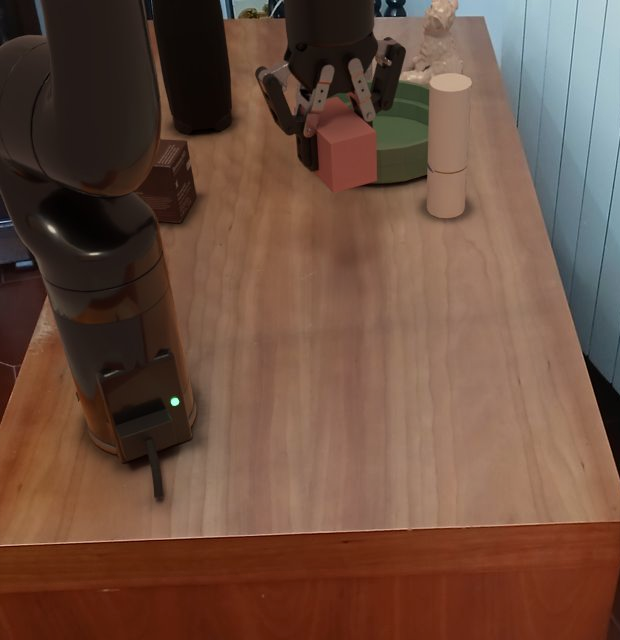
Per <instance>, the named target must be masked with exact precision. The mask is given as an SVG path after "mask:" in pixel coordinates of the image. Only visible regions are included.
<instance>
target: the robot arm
mask: <svg viewBox="0 0 620 640" xmlns="http://www.w3.org/2000/svg"><path fill="white" fill-rule="evenodd" d="M39 4H40V8H41V12H42V13H41V14H42V20H43V26H44V33H45V35H41V34H39V35H38V34H35V35H34V34H27V35H22V36H18V37H15V38H13V39H10V40H8V41H6V42H4V43H3V44H2V45H1V46H0V195H1V198H2V200H3V203H4V206H5V208H6V211H7V213H8V216H9V218H10V221H11V223H12V226H13V228H14V230H15V233H16V234H17V235H18V237H19V238H20V240H21V242H22V243H23V244H24V245H25V246H26V248H27V249H28V250H29V251H30V253H31V254H32V255H33V257H34V258H35V261H36V263H37V266H38V270H39V273H40V277H41V279H42V282H43V285H44V289H45V293H46V296H47V298H48V302H49V307H50V309H51V312H52V315H53V319H54V322H55V325H56V328H57V331H58V335H59V338H60V341H61V344H62V347H63V350H64V354H65V357H66V361H67V364H68V367H69V370H70V373H71V376H72V379H73V384H74V386H75V389H76V391H75V395H76V399H77V402H78V403H79V402H80V404H81V408H82V411H83V414H84V418H85V425H86V428H87V432H88V435H89V437H90V438H91V440H92V441H93V442H94V444H95V445H97V446H98V447H99V448H100V449H102V450H104V451H105V452H107V453H110V454H114V455H116V456H117V457H118V458H119V460H120V462H121V463H124V464H125V463H128V462H130V461H134V460H136V459H140V458H143V457H145V456H147V457H148V461H149V466H150V470H151V471H150V472H151V477H152V486H153V496H154V497H153V498H154V499H162V498H163V497H164V489H163V485H164V484H163V476H162V470H161V466H160V460H159V456H158V452H160V451H162V450H165V449H168V448H170V447H173V446H176V445H178V444H182V443H184V442H187V441H189V440H192V438H193V434H192V429H191V428H192V426H193V425H194V423H195V421H196V417H197V404H196V398H195V395H194V392H193V389H192V385H191V379H190V374H189V370H188V365H187V360H186V355H185V350H184V345H183V339H182V336H181V335H182V334H181V331H180V325H179V324H180V323H179V320H178V319H179V318H178V315H177V310H176V309H177V308H176V305H175V299H174V295H173V290H172V289H173V288H172V284H171V280H170V272H169V268H168V263H167V258H166V253H165V248H164V242H163V237H162V232H161V228H160V224H159V221H158V220H157V218H156V215H155V213H154V212H153V210H152V209H151V207H150V206H149V205H148V204H147V203H146V202H145V201H144V200H143V199H142V198H141V197H139V196H138V195H137V194H136V193H135V192H134V191H135V190H136V189H137V188H138V187H139V186H140V185H141V184H142V183H143V182H144V180H145V179H146V177H147V176H148V174H149V172H150V171H151V169H152V167H153V164H154V161H155V159H156V156H157V152H158V148H159V143H160V139H161V134H162V120H163V119H162V101H161V92H160V84H159V79H158V73H157V72H158V71H157V67H156V62H155V55H154V54H155V53H154V49H153V43H152V38H151V33H150V26H149V22H148V21H149V20H148V16H147V10H146V5H145V0H39ZM283 8H284V9H283V10H284V21H285V34H286V39H287V44H286V45H287V46H286V49H285V52H284V54H283V60H282V61H280V62H278V63H276V64H274V65H273V66H271V67H269V68H267V67H266V66H263V65H261V66H259V67H257V68H256V70H255V71H254V76H255V78H256V81H257V84H258V85H259V88H260V90H261V93H262V95H263V98H264V100H265V102H266V106H267V108H268V110H269V112H270V114H271V118H272V119H273V122H274V123H275V125H276V126H278V128H279V129H281V131H282V132H283V133H284V134H285V135H286V136H289V137H290V136H291V137H292V136H294V135H295V143H296V156H297V159H298V160H299V162H300V163H301V164H302V165H303V166H304V168H307V169H308V171H310V172H311V173H314V171H318V170H319V161H318V144H317V135H316V134H315V132H316V128H317V124H318V120H319V115H320V114H321V113H323V111H324V107H325V102H326V98H330V97H332V96H334V95H335V94H337V93H347V95H348V98H349V100H350V103H351V106H352V108H353V110H354V112H355V113H356V114H357V115H358V116H359V117H360V118H362V119H363V120H364V121H365V122H366V123H367V124H368V125H369V126H371V127H372V128H373V119H374V118H375V115H376V114H377V113H378V112H380V111H382V110H384V111H388V110H390V109H391V107H392V105H393V101H394V98H395V94H396V90H397V86H398V82H399V78H400V74H402V70H403V66H404V62H405V58H406V55H407V48H406V47H404V46H403V45H402V44H401V43H400V42H399V41H397V40H396V39H394V38H392V37H390V36H387V37H385V38H384V39H381V40H380V39H377V38H376V36H375V34H374V28H375V0H283ZM374 60H375V62H376V65H375V68H374V73H373V81H372V85H371V89H370V90H369V87H368V84H367V81H366V79H365V76H364V75H365V73H366V71H367V69H368V68H369V66H370V64H371V62H372V63H373V61H374ZM290 75H292V76H293V77H294V79H296V80H297V86H296V91H295V103H296V104H295V107H296V108H295V107H294V108H295V113H292V111H291V108H290V105H289V103H288V100H287V98H286V95H285V92H286V91H287V90H288V78H289V76H290Z"/></svg>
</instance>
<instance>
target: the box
mask: <svg viewBox="0 0 620 640" xmlns="http://www.w3.org/2000/svg"><path fill="white" fill-rule="evenodd" d="M188 145H189V144H188V140H185V139H183V140H182V139H166V138H165V139H162V138H160V143H159V148H158V152H157V156H156V159H155V161H154V164H153V167H152V169H151V171H150V172H149V174H148V176H147V177H146V179H145V180H144V182H143V183H142V184H141V185H140V186H139V187H138V188H137V189H136V190H135V191H134V192H135V193H136V194H137V195H138V196H139V197H141V198H142V199H143V200H144V201H145V202H146V203H147V204H148V205H149V206H150V207H151V209H152V210H153V212H154V213H155V215H156V218H157V220H158V222H166V223H181V222H183V220H184V219H185V217H186V216H187V213H188V212H189V210H190V209H191V207H192V205H193V203H194V202H195V200H196V198H197V190H196V186H195V178H194V173H193V167H192V161H191V156H190V151H189V147H188Z"/></svg>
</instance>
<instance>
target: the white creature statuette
mask: <svg viewBox="0 0 620 640" xmlns="http://www.w3.org/2000/svg"><path fill="white" fill-rule="evenodd" d="M457 10H459V1H458V0H431V3H430V6H429V7H428V8H426V9H425V10H424V13H425V14H424V16H423V20H422V22H421V24H422V28H424V31H423V39H422V41H421V44H420V46H419V47H420V48H419V51H418V55H415V56H414V57H413V58H412V61H411V65H412V67H413V68H414V69H411V70H410V71H409V70H407V71H402V72H401V74H400V78H399V80H403V81H408V82H413V83H419V84H423V85H425V86H428V87H430V80H431V79H432V78H433V77H435V76H437V75H440V74H446V73H456V74H461V75H464V66H465V65H464V64H463V63H464V61H463V60H462V59H461V57H460V56H459V55H458V52H457V50H456V48H455V46H456V42H455V38H454V36H453V35H452V32H451V31H450V30H451V28H452V26H453V25H454V24H455V20H456V11H457Z"/></svg>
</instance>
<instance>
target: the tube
mask: <svg viewBox="0 0 620 640" xmlns="http://www.w3.org/2000/svg"><path fill="white" fill-rule="evenodd" d="M472 87H473V81H472V79H471V78H470V77H469V76H467V75H465V74H463V75H461V74H456V73H446V74H440V75H437V76H435V77H433V78H432V79H431V80H430V90H429V128H428V169H427V176H426V211H427V213H428V214H429V215H431V216H433V217H436V218H439V219H453V218H456V217H459V216H461V215H462V214H463V213H464V212H465V209H466V194H467V192H466V191H467V175H468V157H469V138H470V123H471V122H470V121H471V105H472V104H471V103H472Z"/></svg>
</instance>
